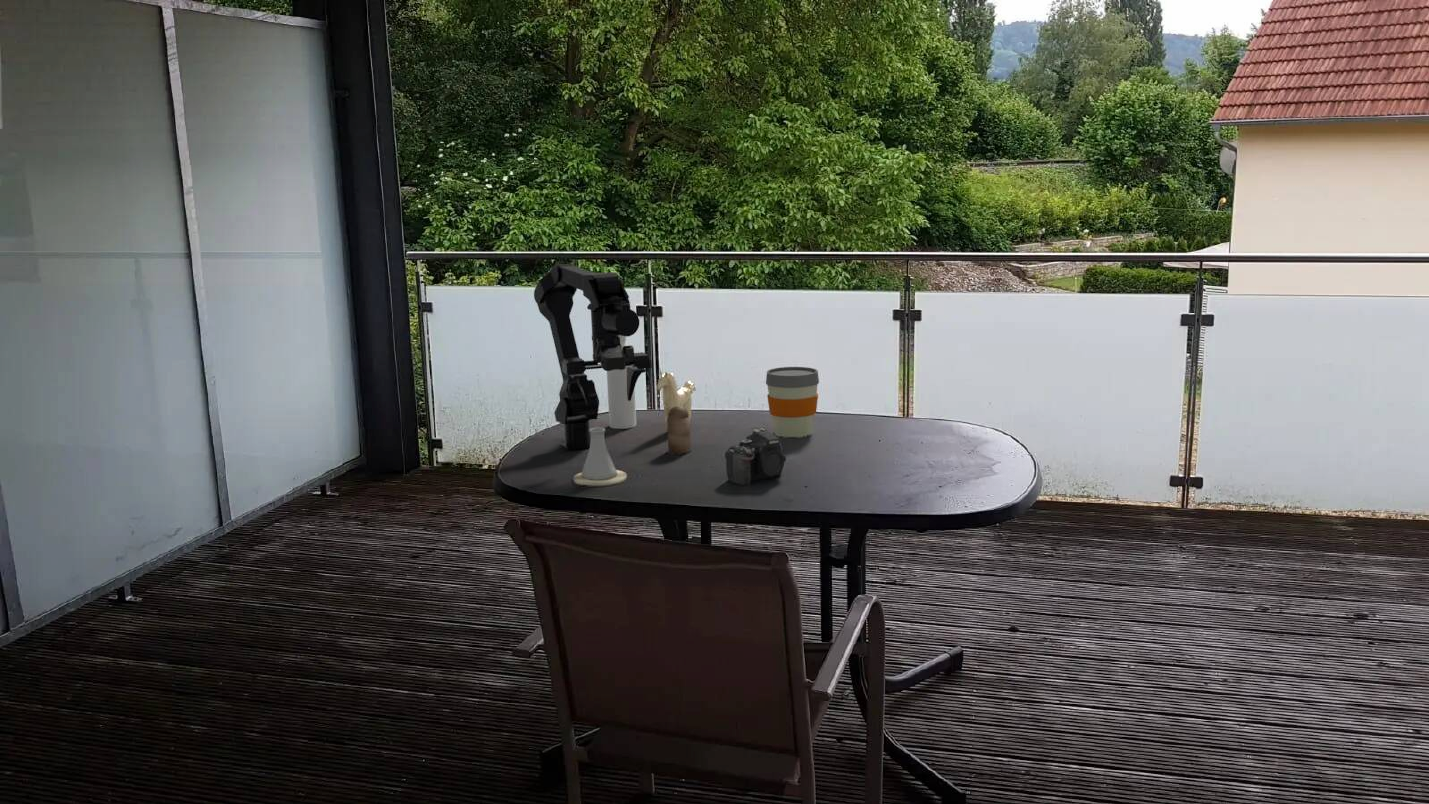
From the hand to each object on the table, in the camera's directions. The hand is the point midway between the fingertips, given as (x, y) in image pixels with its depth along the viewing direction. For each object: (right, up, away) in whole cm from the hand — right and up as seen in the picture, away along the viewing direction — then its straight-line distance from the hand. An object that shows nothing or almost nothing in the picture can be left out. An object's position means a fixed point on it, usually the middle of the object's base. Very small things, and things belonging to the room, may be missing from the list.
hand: (608, 402), depth 250 cm
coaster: (-1, -16, -12) cm, 20 cm away
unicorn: (+14, -7, +29) cm, 33 cm away
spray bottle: (0, -6, +36) cm, 36 cm away
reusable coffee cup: (+42, -8, +23) cm, 48 cm away
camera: (+32, -16, -15) cm, 39 cm away
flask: (-1, -15, -12) cm, 20 cm away
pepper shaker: (+15, -11, +9) cm, 21 cm away
